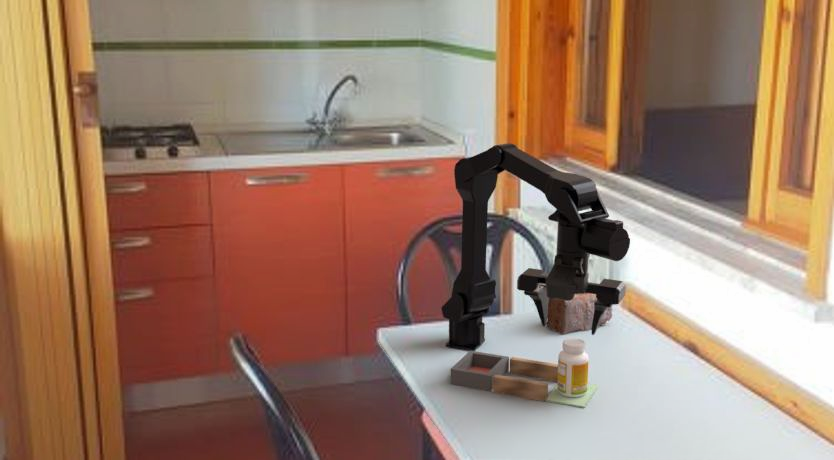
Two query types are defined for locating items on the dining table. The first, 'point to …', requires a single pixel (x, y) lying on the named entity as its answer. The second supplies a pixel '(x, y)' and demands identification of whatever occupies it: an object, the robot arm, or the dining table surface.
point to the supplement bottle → (573, 368)
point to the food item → (574, 313)
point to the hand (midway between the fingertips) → (568, 330)
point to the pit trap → (478, 370)
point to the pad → (572, 401)
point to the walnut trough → (526, 386)
